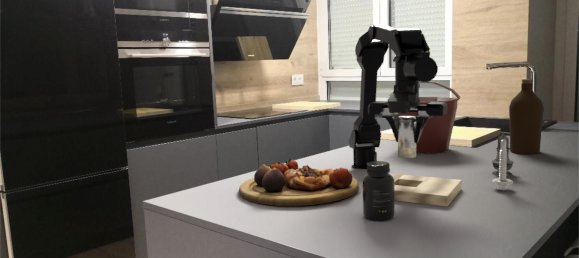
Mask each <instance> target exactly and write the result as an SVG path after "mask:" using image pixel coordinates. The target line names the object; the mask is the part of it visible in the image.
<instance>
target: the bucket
mask: <svg viewBox="0 0 579 258" xmlns="http://www.w3.org/2000/svg"><path fill="white" fill-rule="evenodd" d="M419 84H433V85H436V86H439V87H441V88H443V89H446V90H448V91H449V92H451V93H452V94H453V95H454V96H455V97H447V96H419V100H420V104H419V105H427V104H428V103H430V102H445V103H446V104H447V106H448V113H447V114H445V115H443V116H433V117H431V118H429V119H428V120H427V122H426V124H425V126H424V128H423V131H422V134H421V136H420V139H419V141H418V143H416V154H421V153H422V154H423V155H427V154H442V153H446V152H447V151H449V148H450V143H451V139H452V133H453V128H454V124H455V119H456V114H457V110H458V101H460V99H461V95H460V94H459V93H458V92H457V91H456V90H455V89H454V88H452V87H450V86H448V85H446V84H443V83H440V82H437V81H433V80H431V81H428V82H421V81H419ZM391 94H393V91H392V92H391V93H390V94H389V97H390V96H391ZM396 113H398V112H396ZM399 116H415V117H417V116H419V114H418V112H408V113H399Z"/></svg>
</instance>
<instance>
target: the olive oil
mask: <svg viewBox="0 0 579 258" xmlns="http://www.w3.org/2000/svg"><path fill="white" fill-rule="evenodd" d="M520 88H521V90H520V92H518V93H517V94H516V96H514V97H513V98H512V100H511V101H510V104H509V108H508V112H509V113H508V114H509V148H510V150H509V151H510V152H511V153H514V154H520V155H536V154H539V153H541V141H542V131H543V120H544V119H543V118H544V112H545V111H544V110H545V109H544V108H545V107H544V104H543V103H544V102H543V101H542V99H541V98H540V97H539V96H538V95H537V94H536V93H535V92H534V91H533V79H531V78H523V79H521V87H520Z"/></svg>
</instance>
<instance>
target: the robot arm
mask: <svg viewBox="0 0 579 258" xmlns="http://www.w3.org/2000/svg"><path fill="white" fill-rule="evenodd" d="M422 32H423V31H422V30H421V29H420V28H396V27H393V26H389V25H387V24H386V23H385V24H383V23H381V24H372V25H369V28H368V30H367V31H365V33H364V34H361V36H360V37H359V38H358V40H357V43H356V44H355V48H354V52H355V56H356V62H357V64H358V66H359V67H360V69H361V74H360V75H361V77H360V78H361V79H360V94H359V95H360V97H359V100H360V101H359V115H358V116H357V118H356V120H355V121H354V123H353V127H352V128H353V130H352V131H351V132H350V133H351V134H350V135H349V136H350V137H349V139H348V145H349V148H350V149H352V150H353V151H352V153H353V157H352V158H353V164H352V165H351V168H354V169H355V168H357V169H367V163H368V162H372V161H378V156H377V155H378V153H377V151H376V148H380V144H381V138H382V132H381V125H380V123H379V121H378V120H377V118H376V115H380V114H381V113H382V115H381V116H380V117H381V118H382V119H385V120H386V121H387V122H388V124H389V126H390V128H391V132H392V134H393V137H394V140H395V142H396V143H398V117H399V113H408V112H418V114H419V116H417V117H416V133H415V143H418V141H419V139H420V136H421V134H422V131H423V128H424V126H425V124H426V122H427V120H428V119H429V118H431V117H433V116H443V115H445V114H447V113H448V106H447V104H446V103H445V102H430V103H428V104H427V105H419V104H420V100H419V97H420V88H421V83H419V81H421V82H428V81H433V79H435V78H436V76H437V74H438V70H439V68H438V64H437V62H436V60H435V59H434V58H433V57H430V56H431V51H430V49H431V48H430V46H429V45H428V42H427V40H426V37H425V35H424V33H422ZM388 49H390V50H391V52H393V53H394V55H395V56H394V57H393V59H392V61H393V62H394V70H395V71H394V77H395V78H394V79H395V80H394V83H395V84H394V85H393V91H392V92H393V94H391V93H390V94H391V96H389V97H388V98H387V100H386V101H380V100H379V101H377V88H378V71H379V70H380V68H381V67H382V65H383V64H384V62H385V55H386V54H387V52H388ZM396 112H398V113H396Z"/></svg>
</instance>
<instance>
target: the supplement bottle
mask: <svg viewBox="0 0 579 258" xmlns="http://www.w3.org/2000/svg"><path fill="white" fill-rule="evenodd" d="M390 172H391V168H390V162H388V161H383V160H377V161H372V162H368V163H367V168H366V173H367V174H365V175H364V176H363V178H362V208H363V209H362V215H363V217H364V218H365V219H367V220H369V221H374V222H387V221H391V220H392V219H393V218H395V214H396V213H395V212H396V210H395V209H396V208H395V207H396V206H395V205H396V201H395V184H394V178H393V176H391V175H392V174H390Z"/></svg>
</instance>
